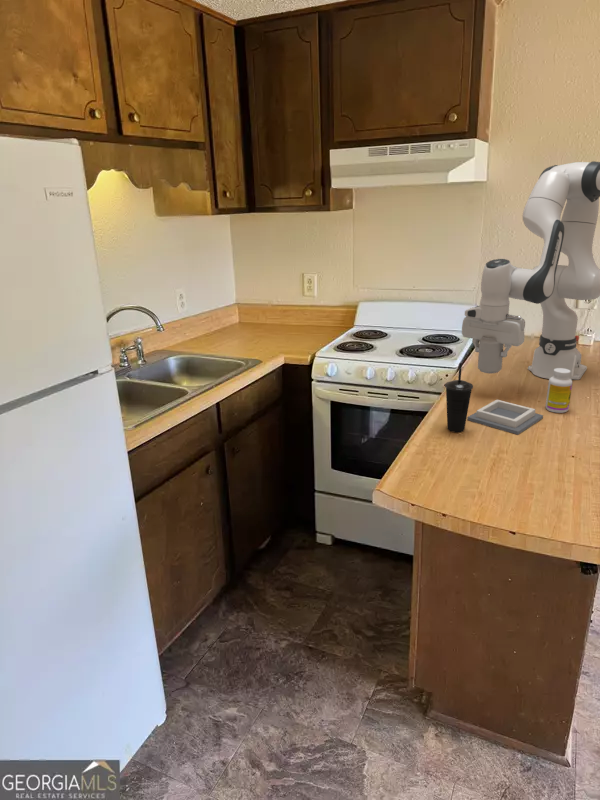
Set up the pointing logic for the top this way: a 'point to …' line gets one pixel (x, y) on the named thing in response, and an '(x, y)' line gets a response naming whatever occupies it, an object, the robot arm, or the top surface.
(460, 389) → the drinking cup
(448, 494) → the top surface
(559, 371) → the supplement bottle
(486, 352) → the can
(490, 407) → the grey flat square tray
